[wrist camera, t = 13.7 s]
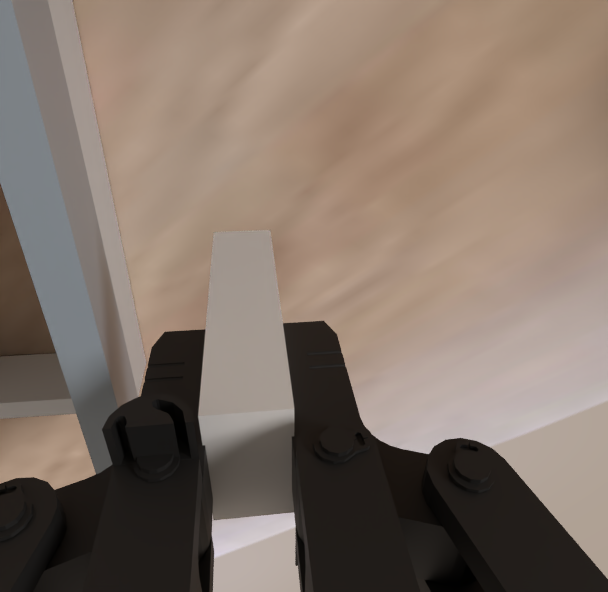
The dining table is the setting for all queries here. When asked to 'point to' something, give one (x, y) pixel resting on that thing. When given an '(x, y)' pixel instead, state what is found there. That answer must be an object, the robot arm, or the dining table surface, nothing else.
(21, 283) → the dining table surface
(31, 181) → the cover
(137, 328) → the hinged pencil case
